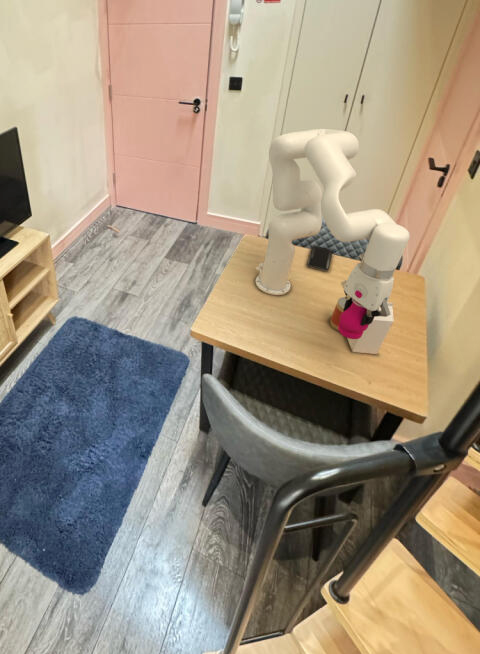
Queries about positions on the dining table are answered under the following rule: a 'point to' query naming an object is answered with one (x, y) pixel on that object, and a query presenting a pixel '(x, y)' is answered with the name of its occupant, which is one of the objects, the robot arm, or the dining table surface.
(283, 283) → the robot arm
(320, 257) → the phone
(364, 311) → the pepper mill
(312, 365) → the dining table surface
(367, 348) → the milk carton
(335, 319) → the sauce tin
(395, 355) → the dining table surface
